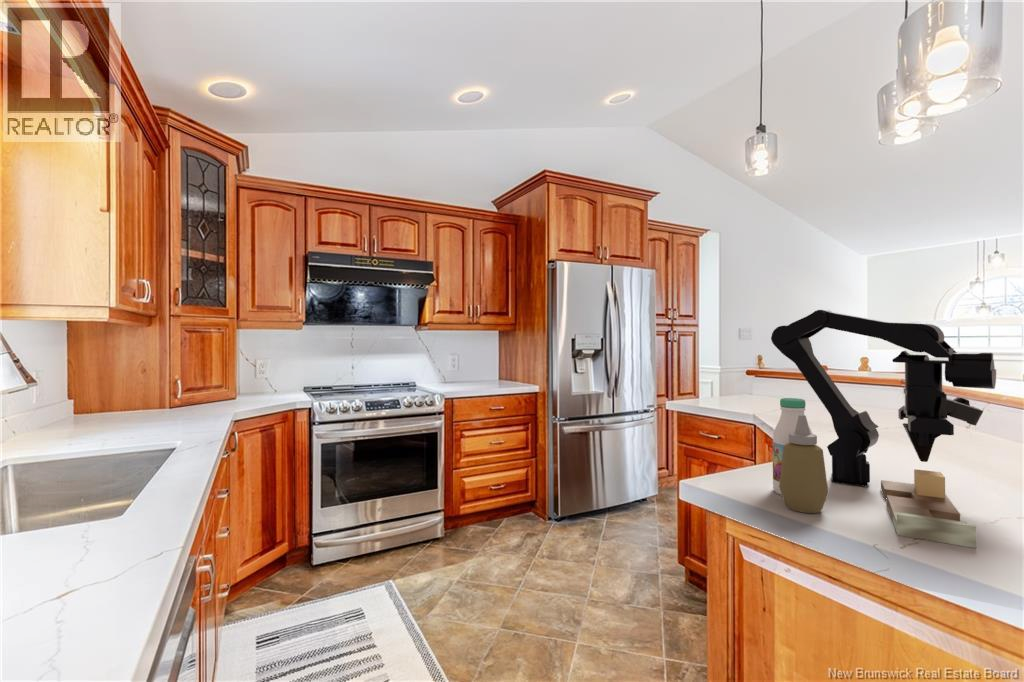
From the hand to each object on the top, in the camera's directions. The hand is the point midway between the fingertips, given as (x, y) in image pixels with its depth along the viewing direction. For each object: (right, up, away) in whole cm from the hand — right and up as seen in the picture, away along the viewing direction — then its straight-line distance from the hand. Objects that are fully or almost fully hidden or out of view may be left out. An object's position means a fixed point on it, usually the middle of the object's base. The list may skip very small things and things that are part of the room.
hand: (923, 461), depth 96 cm
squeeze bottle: (-28, -8, -5) cm, 30 cm away
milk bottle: (-25, -8, +3) cm, 26 cm away
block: (-3, -5, -4) cm, 7 cm away
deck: (-8, -7, -9) cm, 14 cm away
